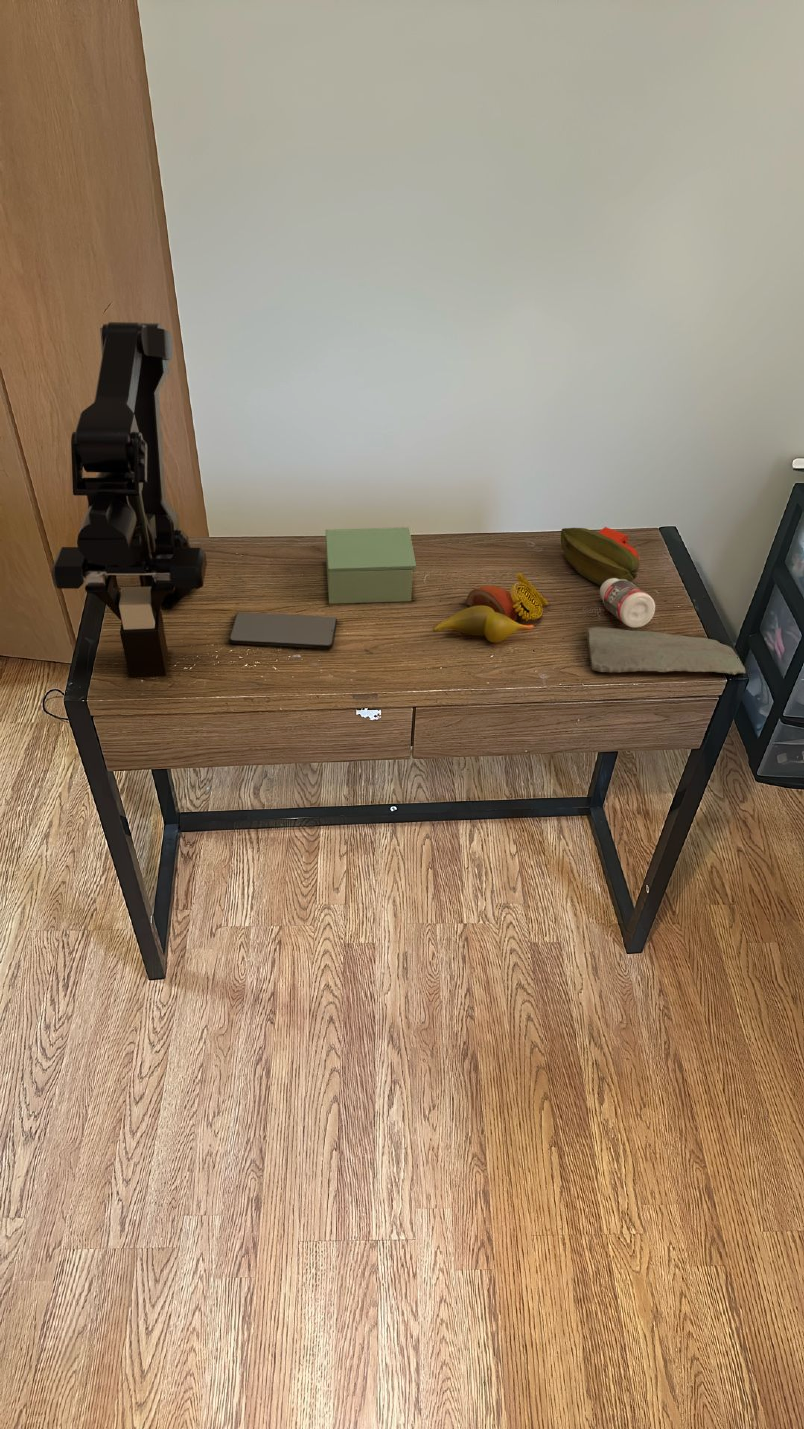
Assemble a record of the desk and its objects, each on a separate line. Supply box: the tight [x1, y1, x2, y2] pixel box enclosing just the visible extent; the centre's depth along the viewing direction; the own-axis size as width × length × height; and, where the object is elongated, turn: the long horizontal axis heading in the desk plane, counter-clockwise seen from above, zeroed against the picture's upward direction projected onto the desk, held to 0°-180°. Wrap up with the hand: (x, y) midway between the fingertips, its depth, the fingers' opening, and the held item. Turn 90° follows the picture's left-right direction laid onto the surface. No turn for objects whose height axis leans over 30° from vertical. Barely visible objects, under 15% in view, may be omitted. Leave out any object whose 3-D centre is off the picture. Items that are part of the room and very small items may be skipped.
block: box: [119, 586, 155, 630], centre depth 129 cm, size 4×4×4 cm
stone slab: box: [585, 626, 747, 676], centre depth 140 cm, size 22×3×10 cm
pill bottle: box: [599, 578, 656, 629], centre depth 145 cm, size 5×5×10 cm
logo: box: [509, 572, 549, 622], centre depth 145 cm, size 7×1×8 cm
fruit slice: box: [465, 585, 519, 622], centre depth 146 cm, size 8×7×5 cm
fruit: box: [560, 527, 640, 587], centre depth 153 cm, size 11×12×7 cm
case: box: [325, 544, 414, 605], centre depth 150 cm, size 13×11×6 cm
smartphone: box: [228, 611, 338, 650], centre depth 141 cm, size 7×1×15 cm
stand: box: [119, 607, 169, 679], centre depth 133 cm, size 5×5×8 cm
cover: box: [325, 526, 417, 572], centre depth 148 cm, size 13×11×1 cm
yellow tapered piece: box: [432, 605, 535, 643], centre depth 141 cm, size 4×15×6 cm
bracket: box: [583, 526, 639, 560], centre depth 159 cm, size 12×4×5 cm
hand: (140, 619), depth 130 cm, fingers closed on block, 4 cm apart
